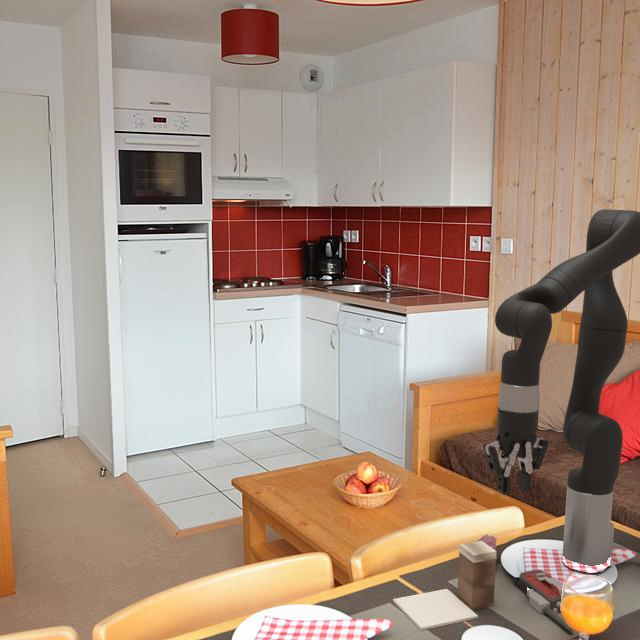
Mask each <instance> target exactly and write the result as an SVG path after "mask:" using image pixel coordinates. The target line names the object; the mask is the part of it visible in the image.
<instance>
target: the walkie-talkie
mask: <svg viewBox="0 0 640 640" xmlns="http://www.w3.org/2000/svg"><path fill="white" fill-rule="evenodd" d="M513 582H514V583H515V584H516V585H517V586H518V588H519V589H520V590H522V591H523V592H524V593H525V594H526V596H527V597H528V605H529V606H530V607H532V608H533V609H535V611H536V612H537V613H539V614H540V615H543V614H545V615H547V616H548V617H551V618H552V619H553V620H554V621H556V622H557V623H558V625H562V626H563V627H564V628H566V629H567V630H568V631H569V632H573V631H574V629H573V630H572V629H571V628H570V627H569V626H568V625H567V624H566V623H565V622H566V620H564V619H563V618H562V617H560V616H559V615H558V613H559V612H561V611H560V602H561V594H562V585H563V584H564V583H563V582H560V581H559V579H557V578H555V577H553V576H552V575H550V574H549V573H548V572H546V571H544V570H541V569H536V570H530V571H524V572H521V573H520V574H519V576H515V577H513ZM527 587H528V588H529V589H530V590H528V591H527Z"/></svg>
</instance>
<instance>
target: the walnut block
mask: <svg viewBox="0 0 640 640" xmlns="http://www.w3.org/2000/svg"><path fill="white" fill-rule="evenodd" d="M476 541H477V540H476ZM476 541H473V542H472V541H471V542H466V543H461V544H460V543H459V548H458V549H459V551H458V554H459V555H458V572H457V591H456V592H457V593H456V595H457V596H456V597H457V598H458V599H459V600H460V601H462V602H463V603H464V604H465V605H466V606H467V607H468V608H470V609H471V610H472V611H474V610H480V609H485V608H488V607H493V606H495V605H494V604H495V603H494V602H495V587H496V586H495V583H496V569H497V567H496V566H497V559H496V556H497V552H496V551H497V550H496V549H495V550H496V551H495V550H494V549H493V548H491V547H490V546H488V545H487V544H485V543H484V542H483V541H477V542H476Z"/></svg>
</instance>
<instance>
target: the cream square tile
mask: <svg viewBox="0 0 640 640" xmlns="http://www.w3.org/2000/svg"><path fill="white" fill-rule="evenodd" d="M392 603H394V604H395V606H397V607H398V609H399V610H400V611H402V613H403V614H405V616H406V617H408V619H409V620H410V622H411V621H412V623H413V624H414V625H415V626H416V627H417V628H418V630H420V631H424V630H428V629H433V628H440V627H442V626H443V627H444V626H447V625H453V624H458V623H463V622H466V621H467V622H468V621H473V620H476V619H479V615H478V614H477V613H476V612H474V610H471V609H470V608H468V607H467V606H466V605H465V604H464V603H463V602H462V601H460V600H459V599H458V598H457V596H456V595H455V594H454V593H453V592H452V591H450V590H449V589H448V588H444V589H439V590H434V591H428V592H423V593H418V594H413V595H409V596H408V595H407V596H402V597H398V598H393V599H392Z"/></svg>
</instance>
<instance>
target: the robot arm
mask: <svg viewBox="0 0 640 640" xmlns="http://www.w3.org/2000/svg"><path fill="white" fill-rule="evenodd" d="M585 247H586V248H585V252H583V253H580V254H578V255H576V256H573V257H571V258H569V259H566V260H564V261H562V262H561V263H559V264H558V265H556V266H555V267H553V268H552V269H550V271H548V272H547V273H546V274H545V275H544V276H543V277H541V279H540V280H539V281H537V282H536V283H535V284H532V285H530V286H528V287H526V288H524V289H522V290H520V291H518V292H516V293H514V294H513V295H511V296H509V297H508V298H506V299H505V300H504V301H503V302H502V303H501V304H500V305H499V307H498V308H497V310H496V313H495V317H494V323H495V326H496V329H497V331H499V332H500V333H501V334H503V335H504V336H506V337H510V338H515V339H520V344H519V347H518V348H517V349H511V350H508V351H505V352H504V353H503V355H502V359H501V373H500V384H499V389H498V390H499V391H498V403H497V419H496V422H497V424H496V427H497V431H498V433H497V436H496V437H495V438H496V439H495V441H493V442H491V443H487V442H486V443H484V444H483V446H482V447H483V451H484V455H485V458H486V462H487V466H488V469H489V471H490V472H492V473H494V474H495V475H497V476H498V478H497V479H498V480H497V490H498V491H499V492H500V494H502V495H504V496H508V495H509V494H510V485H511V484H510V483H511V476H510V474H511V469H512V467H513V466H514V465H515V462H516V459H517V460H518V465H519V471H518V484H517V485H518V486H517V487H518V490H519V491H520V492H522V493H528V492H529V489H530V488H531V477H532V476H531V475H532V473H533V472H534V471H536V470H540V468H541V466H542V463H543V461H544V457H545V454H546V451H547V449H548V447H549V445H550V443H549V442H550V441H549V440H547V439H545V438H542V437H541V436H538V435H537V434H536V432H538V429H539V428H538V427H539V411H540V398H541V397H540V396H541V395H540V374H541V373H540V372H541V371H540V370H541V362H542V359H543V356H544V353H545V351H546V347H547V344H548V341H549V338H550V335H551V332H552V328H553V317H552V315H555V314H557V313H558V314H559V313H560V312H562V311H563V310H564V309H566V308H567V306H569V305H570V304H571V303H572V302H573V301H574V300H575V299H576V298H578V296H579V295H581V294H582V293H583V294H584V295H583V302H582V311H581V317H580V322H579V323H580V325H579V330H578V338H577V352H576V359H575V365H574V372H573V379H572V386H571V389H570V395H569V399H568V404H567V406H566V411H565V416H564V421H563V426H562V427H563V428H562V433H563V439H564V442H565V444H566V445H567V446H568V447H569V448H570V449H572V450H573V451H575V452H577V453H579V454H582V455H583V460H582V465H581V467H577V468H573V469H571V470H570V471H569V472H568V474H567V480H566V482H567V483H566V498H565V509H564V510H565V512H564V514H565V515H564V526H563V527H564V528H563V539H562V540H563V542H562V543H563V544H562V555H563V556H564V557H565V558H566V559H568V560H570V561H573V562H577V563H580V564H583V565H588V566H595V565H600V564H604V563H606V562H607V560H608V558H610V557H613V547H614V545H613V544H614V533H615V525H614V523H613V522H612V511H613V510H612V509H613V499H614V498H613V497H614V486H615V482H616V481H617V479H618V477H619V473H620V464H621V460H622V459H621V457H622V450H623V441H624V439H623V431H622V427H621V424H619V422H618V421H617V420H616V419H614V418H611V417H610V416H608V415H604V414H602V413H600V404H601V403H600V402H601V395H602V391H603V387H604V385H605V383H606V382H607V380H608V378H609V377H610V376H611V375H612V373H613V372H614V370H615V369H616V367H617V366H618V364H619V363H620V362H621V361H622V360H621V359H622V357H623V355H624V352H625V347H626V340H627V333H628V317H627V316H628V315H627V314H626V310H625V308H624V305H623V303H622V300H621V298H620V296H619V293H618V291H617V289H616V285H615V282H614V277H613V275H614V274H613V271H614V270H616V269H617V268H620V266H622V265H624V264H625V263H627V262H629V261H631V260H632V259H634V258H636V257H637V256H638V255H640V211H637V210H631V209H630V210H628V209H600V210H598V211H596V212H595V213H594V214H593V215H592V217H591V219H590V220H589V223H588V228H587V233H586V246H585ZM499 450H500V451H499Z"/></svg>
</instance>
